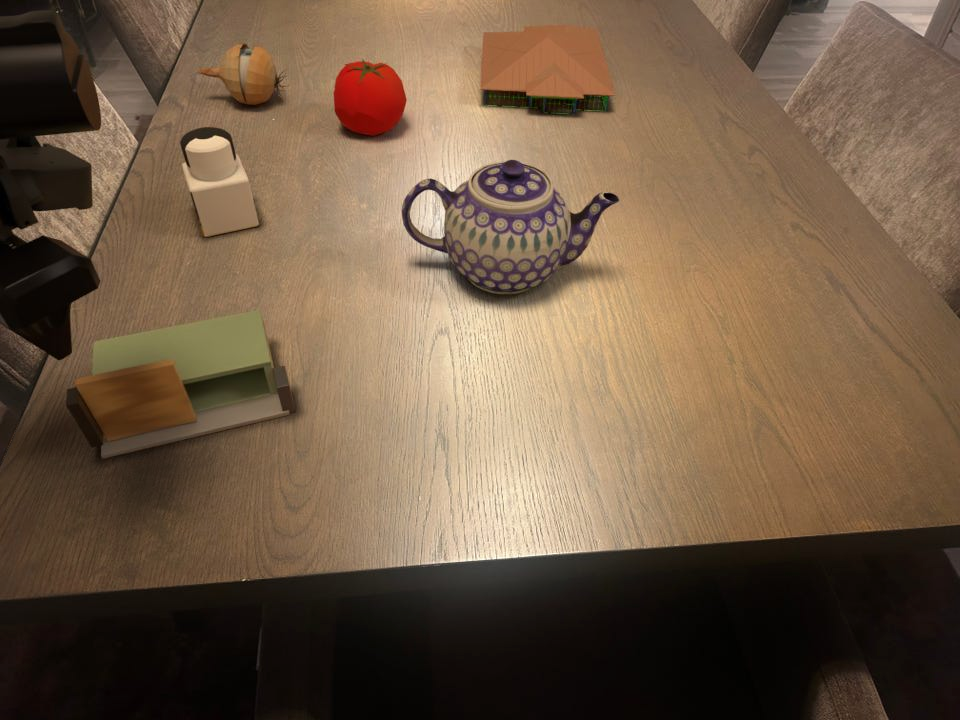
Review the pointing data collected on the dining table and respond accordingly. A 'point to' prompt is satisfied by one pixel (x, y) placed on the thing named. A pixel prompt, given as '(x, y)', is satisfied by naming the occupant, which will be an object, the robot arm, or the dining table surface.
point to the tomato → (369, 97)
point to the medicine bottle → (217, 182)
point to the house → (546, 64)
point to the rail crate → (204, 375)
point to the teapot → (508, 226)
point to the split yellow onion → (247, 74)
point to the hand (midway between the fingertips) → (30, 330)
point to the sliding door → (129, 402)
